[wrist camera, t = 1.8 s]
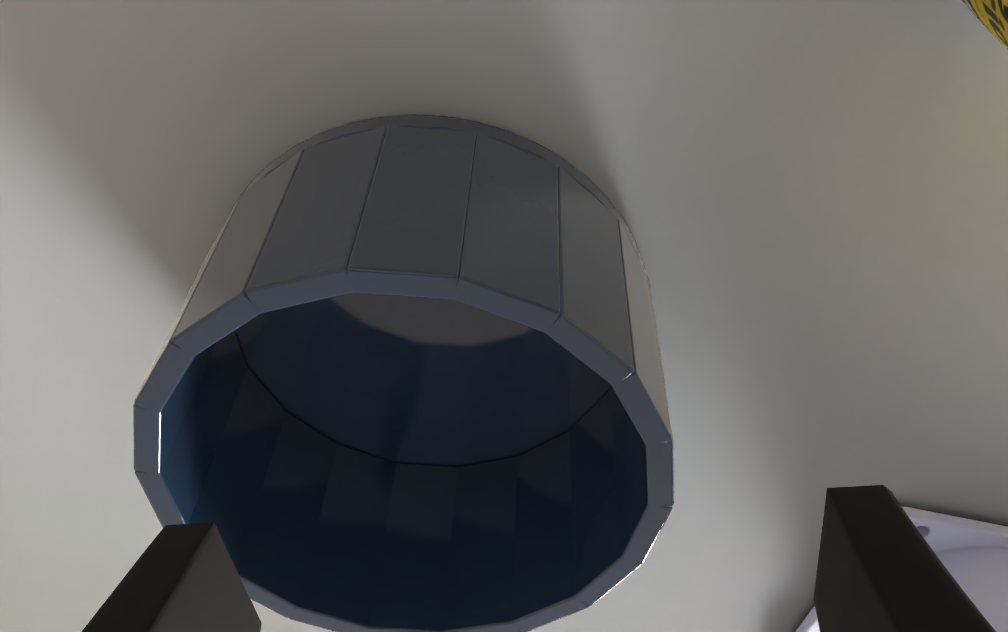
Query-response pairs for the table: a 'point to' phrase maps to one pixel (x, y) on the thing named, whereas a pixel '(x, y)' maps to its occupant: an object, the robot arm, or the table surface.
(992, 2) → the supplement bottle
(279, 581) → the dark grey hollow cylinder
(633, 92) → the table surface
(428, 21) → the table surface
